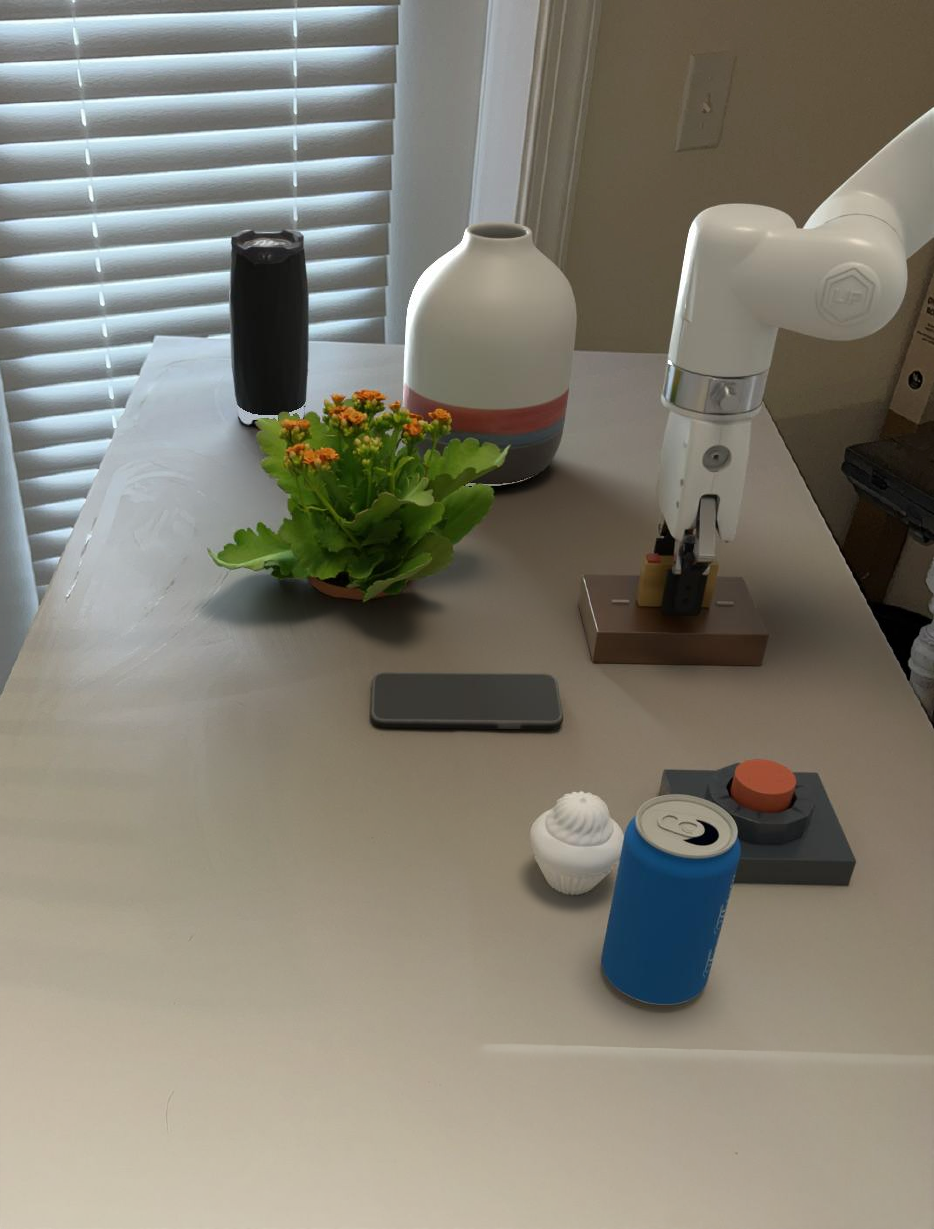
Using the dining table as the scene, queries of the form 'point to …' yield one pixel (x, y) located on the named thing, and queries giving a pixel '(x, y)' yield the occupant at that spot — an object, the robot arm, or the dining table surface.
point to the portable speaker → (269, 321)
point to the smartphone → (466, 700)
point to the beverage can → (670, 898)
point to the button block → (776, 830)
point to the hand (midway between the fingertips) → (674, 595)
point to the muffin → (576, 843)
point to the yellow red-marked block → (655, 580)
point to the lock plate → (670, 626)
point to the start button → (763, 786)
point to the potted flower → (365, 498)
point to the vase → (493, 348)
